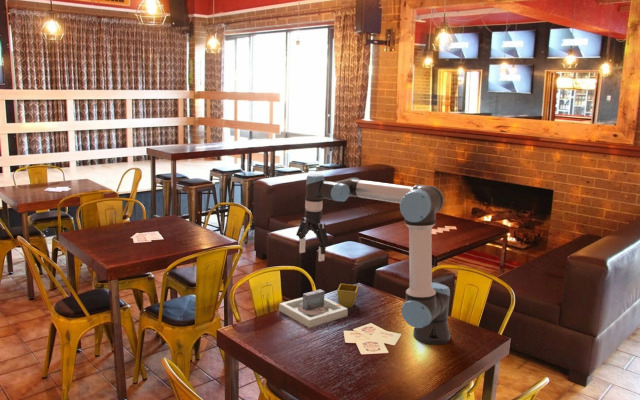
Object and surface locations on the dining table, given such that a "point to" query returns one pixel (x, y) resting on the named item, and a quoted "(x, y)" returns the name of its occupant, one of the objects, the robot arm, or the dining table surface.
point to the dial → (313, 303)
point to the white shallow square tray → (310, 321)
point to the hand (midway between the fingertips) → (311, 256)
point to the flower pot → (347, 295)
